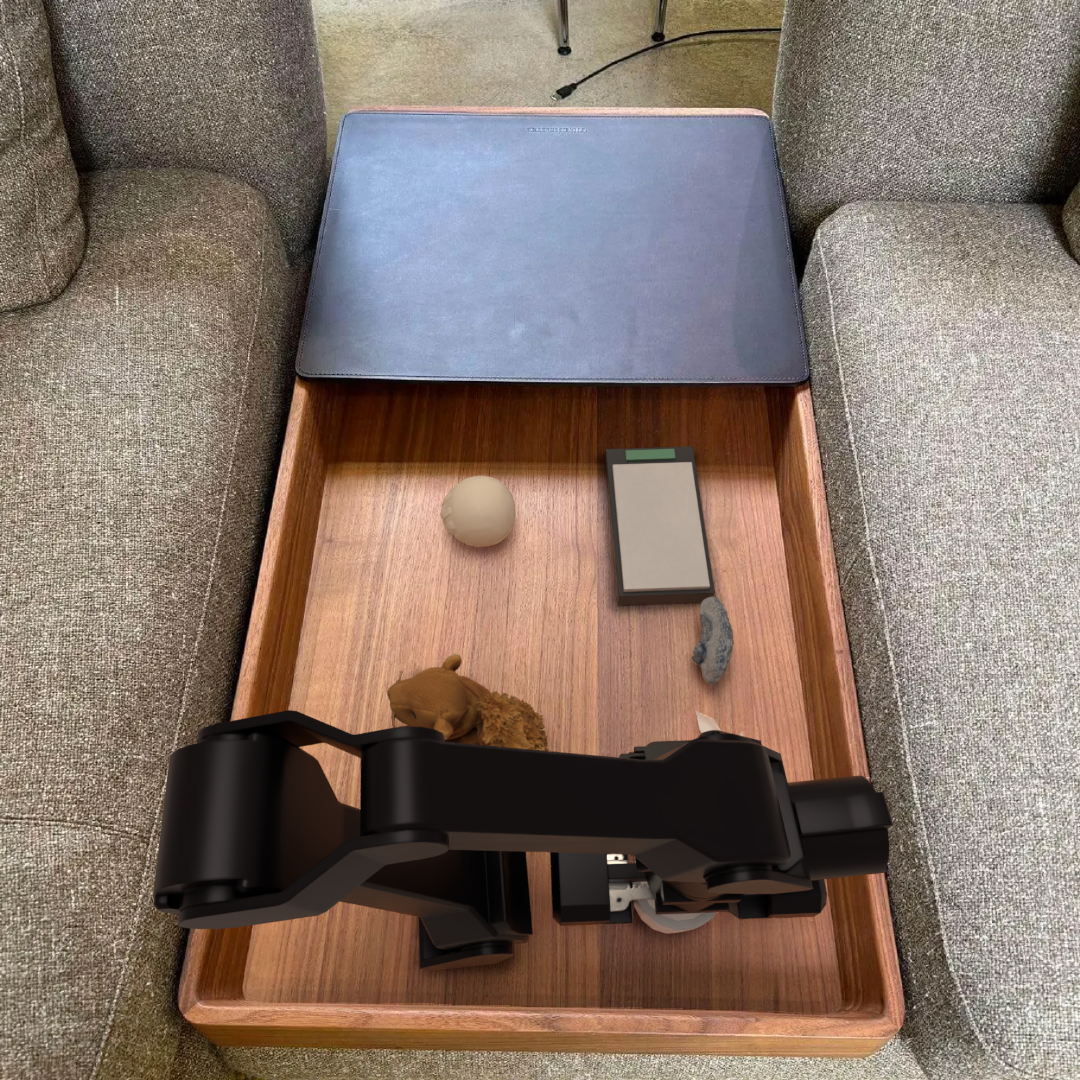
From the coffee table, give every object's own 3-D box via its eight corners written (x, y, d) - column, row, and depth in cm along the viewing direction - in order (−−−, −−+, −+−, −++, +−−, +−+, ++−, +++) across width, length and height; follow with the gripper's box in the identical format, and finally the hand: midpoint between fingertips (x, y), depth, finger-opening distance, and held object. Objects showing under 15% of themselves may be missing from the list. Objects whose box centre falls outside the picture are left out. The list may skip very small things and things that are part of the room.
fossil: (688, 610, 84) (696, 585, 80) (725, 612, 84) (735, 587, 80) (689, 692, 80) (697, 671, 75) (728, 695, 80) (738, 674, 75)
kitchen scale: (711, 602, 84) (716, 590, 82) (617, 605, 84) (619, 593, 82) (690, 457, 93) (693, 442, 91) (604, 460, 93) (605, 445, 91)
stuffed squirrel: (409, 675, 81) (386, 611, 70) (562, 700, 79) (564, 640, 68) (380, 783, 76) (350, 733, 65) (542, 812, 74) (541, 767, 63)
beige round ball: (443, 503, 90) (436, 464, 85) (515, 499, 91) (513, 460, 85) (443, 561, 87) (436, 525, 81) (518, 556, 87) (516, 520, 81)
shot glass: (710, 855, 72) (725, 835, 66) (710, 947, 69) (726, 935, 63) (626, 846, 73) (633, 826, 67) (622, 937, 69) (629, 925, 63)
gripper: (822, 721, 60) (771, 784, 74) (546, 731, 60) (546, 792, 73) (857, 897, 54) (796, 930, 68) (553, 908, 54) (552, 939, 68)
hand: (669, 892), depth 69 cm, fingers closed on shot glass, 6 cm apart
